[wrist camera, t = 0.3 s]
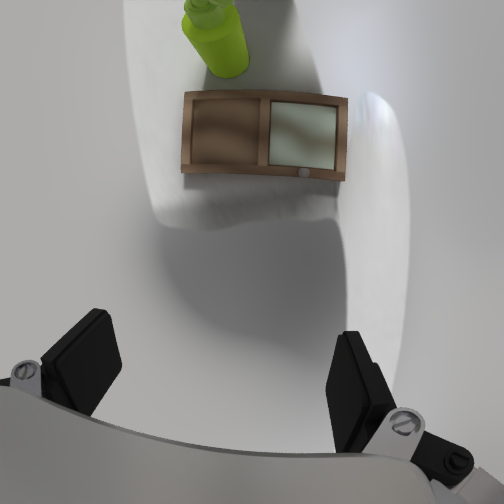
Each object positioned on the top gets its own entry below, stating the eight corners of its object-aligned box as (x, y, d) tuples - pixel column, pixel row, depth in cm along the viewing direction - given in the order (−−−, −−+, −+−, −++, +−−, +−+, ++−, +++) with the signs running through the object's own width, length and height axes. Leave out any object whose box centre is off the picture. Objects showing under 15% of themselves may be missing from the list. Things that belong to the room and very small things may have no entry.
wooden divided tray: (189, 95, 35) (177, 86, 30) (343, 101, 34) (353, 92, 29) (185, 172, 38) (173, 173, 33) (340, 180, 37) (350, 182, 32)
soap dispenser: (240, 88, 34) (209, 22, 15) (200, 67, 33) (144, 0, 14) (263, 58, 32) (255, -24, 13) (223, 38, 32) (187, -43, 13)
